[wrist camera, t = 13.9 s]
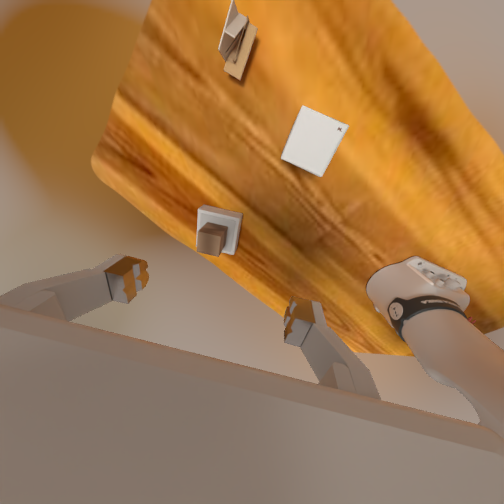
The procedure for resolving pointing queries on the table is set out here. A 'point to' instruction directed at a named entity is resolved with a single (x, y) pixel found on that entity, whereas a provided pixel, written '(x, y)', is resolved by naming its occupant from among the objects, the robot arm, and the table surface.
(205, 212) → the plinth
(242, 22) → the architectural model
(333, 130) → the supplement box
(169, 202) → the table surface
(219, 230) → the walnut block
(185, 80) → the table surface
